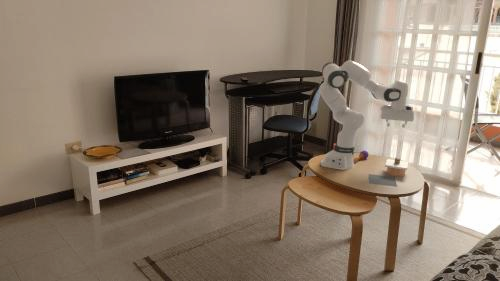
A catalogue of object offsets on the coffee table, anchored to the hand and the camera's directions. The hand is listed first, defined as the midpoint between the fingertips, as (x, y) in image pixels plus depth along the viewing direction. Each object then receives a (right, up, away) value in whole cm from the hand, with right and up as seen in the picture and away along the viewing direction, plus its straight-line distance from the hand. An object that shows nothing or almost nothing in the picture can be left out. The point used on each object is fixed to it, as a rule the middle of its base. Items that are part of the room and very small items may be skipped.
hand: (395, 126), depth 252 cm
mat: (-15, -34, -16) cm, 40 cm away
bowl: (-2, -31, -5) cm, 31 cm away
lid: (-2, -25, -7) cm, 26 cm away
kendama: (-19, -24, +19) cm, 36 cm away
